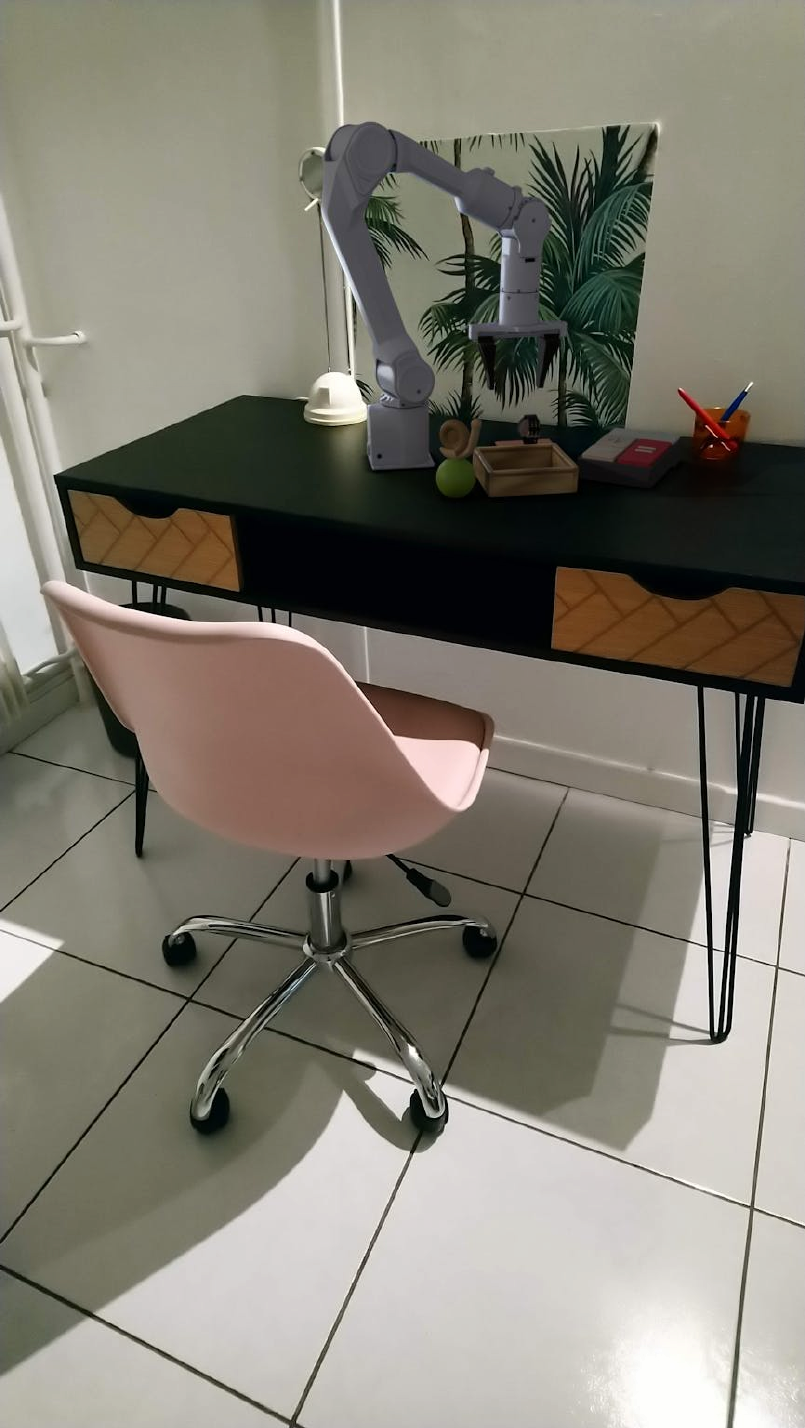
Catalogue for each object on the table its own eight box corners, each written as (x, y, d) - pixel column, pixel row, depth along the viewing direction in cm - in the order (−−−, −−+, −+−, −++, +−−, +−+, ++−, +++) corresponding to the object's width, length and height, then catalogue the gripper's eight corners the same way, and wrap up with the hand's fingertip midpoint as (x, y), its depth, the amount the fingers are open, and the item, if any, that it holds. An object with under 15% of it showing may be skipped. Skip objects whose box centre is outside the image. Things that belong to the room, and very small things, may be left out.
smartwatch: (543, 443, 143) (545, 411, 140) (538, 452, 139) (540, 419, 136) (518, 442, 144) (519, 410, 141) (512, 451, 140) (513, 418, 137)
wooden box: (488, 497, 122) (489, 472, 120) (472, 470, 133) (472, 447, 131) (577, 492, 123) (579, 467, 121) (554, 466, 134) (555, 442, 132)
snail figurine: (469, 507, 119) (471, 415, 113) (428, 499, 122) (428, 409, 116) (488, 495, 123) (491, 406, 116) (448, 488, 126) (448, 400, 119)
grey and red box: (577, 453, 126) (613, 423, 137) (575, 482, 129) (611, 451, 139) (653, 463, 122) (685, 431, 132) (649, 493, 124) (681, 460, 134)
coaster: (506, 459, 137) (506, 457, 137) (494, 443, 145) (495, 441, 145) (563, 456, 138) (563, 453, 138) (549, 441, 146) (549, 438, 145)
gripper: (475, 295, 126) (473, 395, 133) (575, 292, 127) (567, 391, 135) (467, 289, 132) (465, 385, 139) (563, 286, 133) (556, 381, 141)
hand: (515, 387), depth 137 cm, fingers open, 7 cm apart
